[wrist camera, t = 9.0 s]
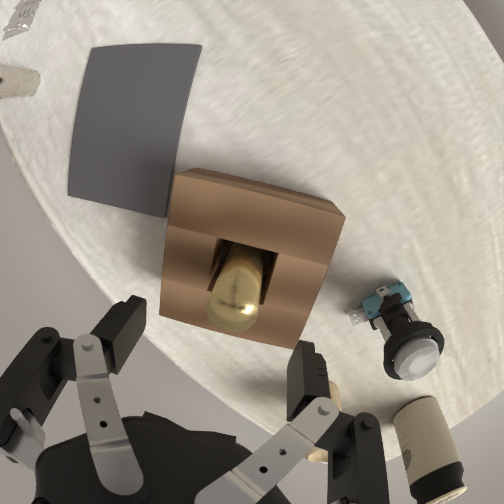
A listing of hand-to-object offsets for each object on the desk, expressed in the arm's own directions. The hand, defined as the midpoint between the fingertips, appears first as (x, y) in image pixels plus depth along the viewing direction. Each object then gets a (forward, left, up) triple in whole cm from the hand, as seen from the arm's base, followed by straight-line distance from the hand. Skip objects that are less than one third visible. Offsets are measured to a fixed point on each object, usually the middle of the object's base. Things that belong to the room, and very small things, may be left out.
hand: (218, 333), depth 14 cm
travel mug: (+20, +32, -13) cm, 40 cm away
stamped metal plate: (-26, -39, -13) cm, 48 cm away
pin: (0, 0, -12) cm, 12 cm away
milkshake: (-14, -30, -13) cm, 35 cm away
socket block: (0, 0, -12) cm, 12 cm away
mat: (-9, -14, -12) cm, 21 cm away
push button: (+2, +14, -13) cm, 19 cm away
